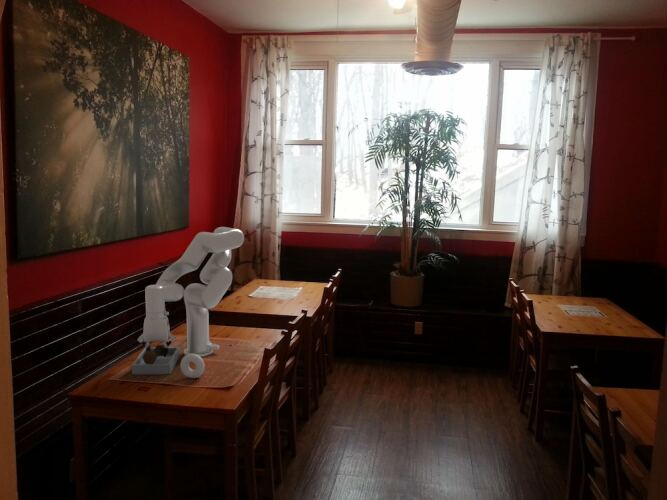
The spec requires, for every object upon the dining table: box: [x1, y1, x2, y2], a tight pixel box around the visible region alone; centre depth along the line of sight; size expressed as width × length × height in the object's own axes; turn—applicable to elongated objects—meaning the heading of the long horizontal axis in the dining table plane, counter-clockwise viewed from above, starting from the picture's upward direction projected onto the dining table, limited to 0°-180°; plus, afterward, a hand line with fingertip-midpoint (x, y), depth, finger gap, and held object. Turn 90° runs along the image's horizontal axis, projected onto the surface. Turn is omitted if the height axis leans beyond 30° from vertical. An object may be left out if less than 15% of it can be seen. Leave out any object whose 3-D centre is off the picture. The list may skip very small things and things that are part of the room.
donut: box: [179, 354, 206, 379], centre depth 212 cm, size 10×3×10 cm, turn 80°
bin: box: [131, 346, 181, 376], centre depth 225 cm, size 15×21×4 cm
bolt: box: [142, 343, 164, 364], centre depth 225 cm, size 6×5×15 cm
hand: (157, 355), depth 225 cm, fingers closed on bolt, 5 cm apart
